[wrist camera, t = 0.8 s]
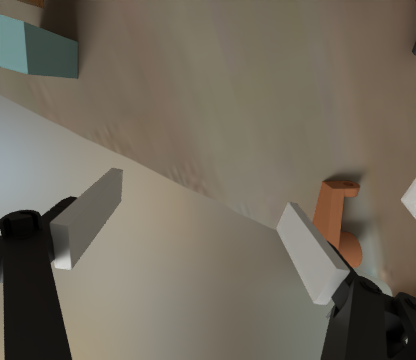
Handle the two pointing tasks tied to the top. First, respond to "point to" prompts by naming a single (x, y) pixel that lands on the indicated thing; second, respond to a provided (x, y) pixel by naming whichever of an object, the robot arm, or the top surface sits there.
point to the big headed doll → (410, 198)
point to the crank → (337, 219)
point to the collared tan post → (34, 2)
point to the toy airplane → (414, 49)
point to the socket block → (36, 50)
